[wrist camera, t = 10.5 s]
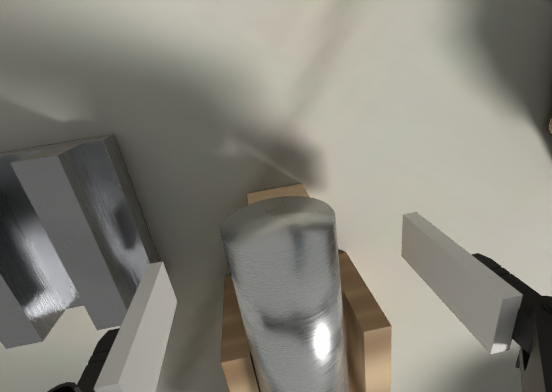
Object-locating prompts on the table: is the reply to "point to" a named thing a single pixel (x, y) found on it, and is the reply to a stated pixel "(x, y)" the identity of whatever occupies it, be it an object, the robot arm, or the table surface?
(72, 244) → the v block
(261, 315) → the axle
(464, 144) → the table surface
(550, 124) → the figurine
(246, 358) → the beam
